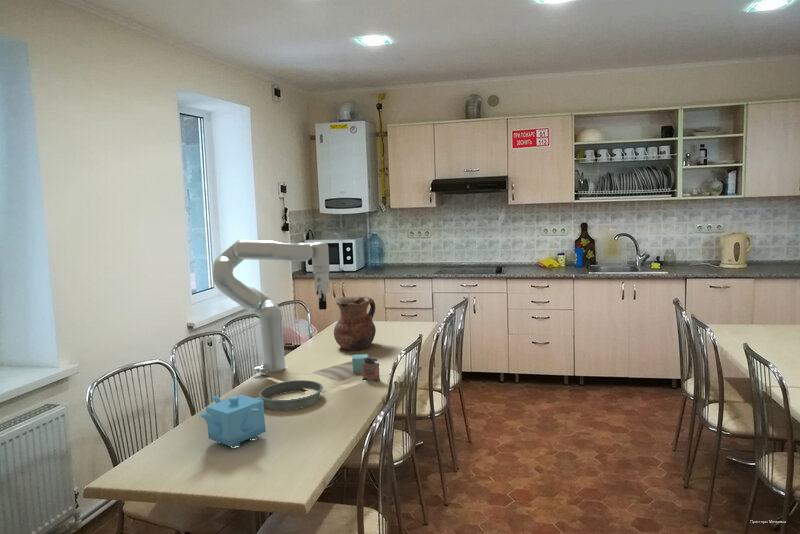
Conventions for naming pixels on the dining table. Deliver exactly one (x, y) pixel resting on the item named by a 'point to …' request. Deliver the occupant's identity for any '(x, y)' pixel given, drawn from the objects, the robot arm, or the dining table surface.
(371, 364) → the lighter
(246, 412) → the teakettle
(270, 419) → the dining table surface
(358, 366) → the turquoise cube
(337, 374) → the post board
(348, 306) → the jug
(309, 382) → the cake pan
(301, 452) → the dining table surface
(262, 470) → the dining table surface
